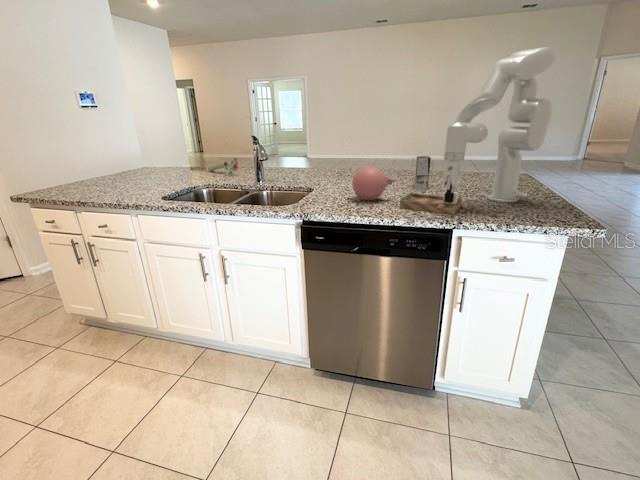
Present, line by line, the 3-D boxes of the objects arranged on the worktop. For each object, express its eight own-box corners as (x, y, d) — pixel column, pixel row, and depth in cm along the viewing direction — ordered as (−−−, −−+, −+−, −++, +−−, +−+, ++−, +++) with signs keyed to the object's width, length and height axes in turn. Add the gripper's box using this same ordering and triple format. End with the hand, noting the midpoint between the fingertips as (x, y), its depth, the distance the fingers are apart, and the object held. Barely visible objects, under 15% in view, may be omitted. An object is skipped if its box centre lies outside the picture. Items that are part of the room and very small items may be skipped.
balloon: (393, 205, 149) (395, 170, 143) (349, 203, 154) (349, 169, 149) (396, 197, 163) (398, 164, 157) (355, 195, 168) (355, 164, 163)
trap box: (460, 205, 146) (462, 195, 144) (453, 214, 134) (454, 203, 132) (410, 200, 156) (411, 190, 155) (399, 208, 145) (400, 197, 143)
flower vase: (217, 181, 252) (247, 174, 230) (202, 178, 243) (232, 171, 221) (217, 165, 252) (247, 157, 230) (202, 162, 243) (232, 153, 221)
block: (457, 201, 145) (458, 192, 143) (455, 203, 141) (456, 194, 139) (445, 200, 147) (446, 191, 146) (442, 202, 143) (443, 193, 142)
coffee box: (428, 189, 177) (431, 158, 171) (415, 189, 178) (417, 157, 173) (426, 185, 186) (429, 155, 180) (414, 185, 187) (416, 155, 181)
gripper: (460, 159, 126) (454, 207, 132) (467, 155, 138) (461, 199, 144) (439, 158, 129) (434, 204, 136) (448, 154, 141) (443, 197, 148)
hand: (448, 201), depth 140 cm, fingers closed
